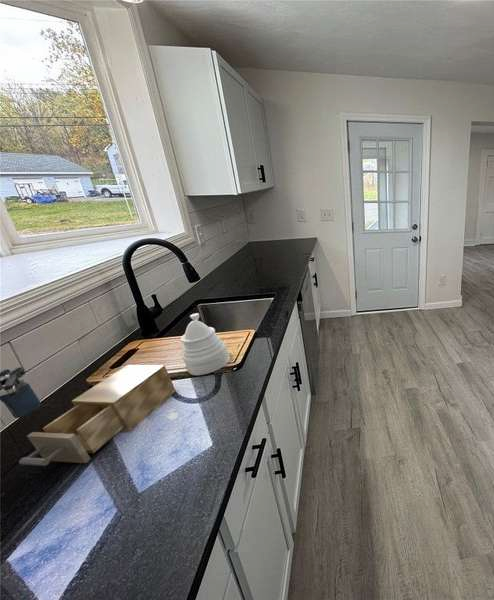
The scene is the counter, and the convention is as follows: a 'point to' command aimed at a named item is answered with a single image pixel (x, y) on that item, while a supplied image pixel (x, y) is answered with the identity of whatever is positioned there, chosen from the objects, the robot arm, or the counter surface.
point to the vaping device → (21, 400)
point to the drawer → (74, 435)
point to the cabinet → (131, 392)
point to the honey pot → (203, 348)
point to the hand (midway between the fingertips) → (15, 371)
